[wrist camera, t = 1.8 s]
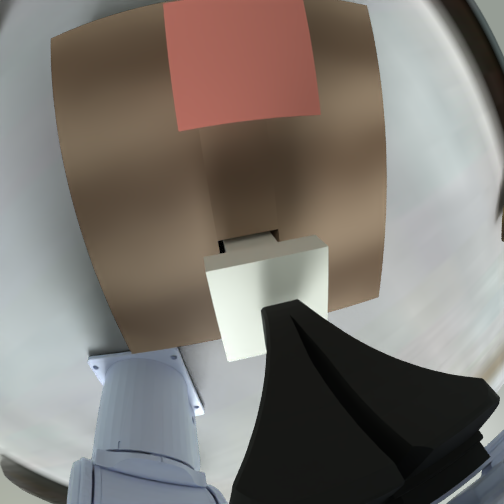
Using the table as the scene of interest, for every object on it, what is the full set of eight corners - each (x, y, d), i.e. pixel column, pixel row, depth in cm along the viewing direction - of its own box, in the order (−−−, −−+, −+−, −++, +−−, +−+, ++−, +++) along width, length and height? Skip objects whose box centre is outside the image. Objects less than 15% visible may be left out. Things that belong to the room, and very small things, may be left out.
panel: (350, 270, 21) (378, 297, 17) (138, 315, 19) (131, 354, 15) (334, 23, 13) (366, 5, 10) (78, 54, 11) (50, 38, 8)
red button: (275, 119, 13) (320, 114, 8) (183, 132, 12) (178, 131, 8) (263, 37, 11) (302, -4, 6) (171, 47, 10) (163, 3, 6)
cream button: (290, 280, 17) (326, 337, 12) (215, 296, 16) (228, 361, 11) (284, 207, 15) (328, 246, 10) (199, 223, 14) (205, 272, 10)
